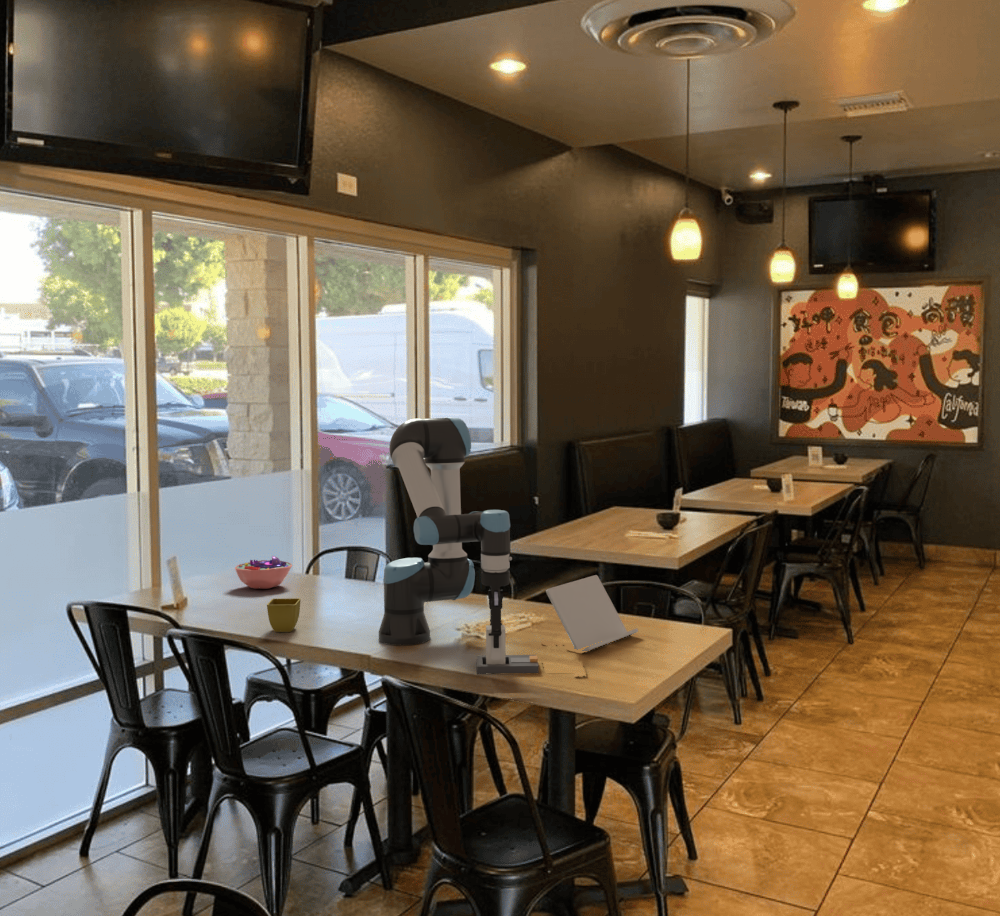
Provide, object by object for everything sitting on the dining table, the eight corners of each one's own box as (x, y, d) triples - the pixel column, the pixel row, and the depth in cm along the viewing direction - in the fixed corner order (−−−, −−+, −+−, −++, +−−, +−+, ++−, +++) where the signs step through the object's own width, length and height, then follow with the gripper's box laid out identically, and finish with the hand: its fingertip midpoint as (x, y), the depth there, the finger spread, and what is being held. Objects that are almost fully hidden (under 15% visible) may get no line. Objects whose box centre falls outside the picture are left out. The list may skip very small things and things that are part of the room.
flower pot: (273, 626, 325) (272, 597, 324) (301, 626, 326) (300, 597, 325) (267, 634, 317) (266, 604, 316) (296, 634, 317) (295, 604, 316)
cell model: (235, 584, 384) (234, 553, 383) (291, 581, 389) (290, 551, 388) (235, 594, 368) (234, 562, 367) (293, 591, 373) (293, 559, 372)
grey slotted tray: (477, 677, 274) (476, 663, 274) (476, 666, 284) (476, 652, 284) (538, 677, 275) (538, 662, 274) (536, 665, 285) (536, 651, 284)
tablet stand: (539, 645, 305) (539, 587, 303) (589, 627, 324) (589, 573, 322) (591, 657, 293) (591, 597, 292) (639, 638, 312) (640, 581, 311)
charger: (486, 670, 277) (486, 627, 276) (486, 665, 281) (485, 623, 280) (505, 670, 277) (505, 627, 276) (504, 665, 281) (504, 622, 280)
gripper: (511, 577, 267) (511, 666, 269) (508, 561, 286) (508, 645, 289) (481, 577, 267) (482, 666, 269) (480, 562, 286) (481, 645, 288)
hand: (495, 655), depth 279 cm, fingers open, 6 cm apart
